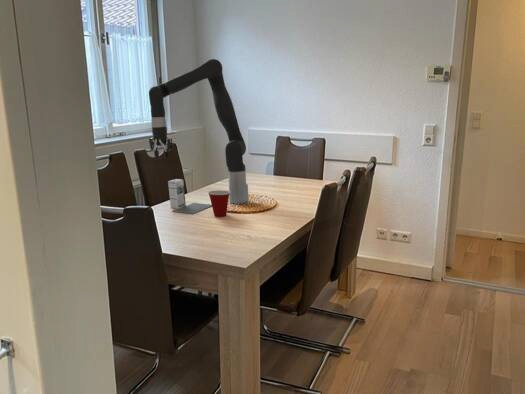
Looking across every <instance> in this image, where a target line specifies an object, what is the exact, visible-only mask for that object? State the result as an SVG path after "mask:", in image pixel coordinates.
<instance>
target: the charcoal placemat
mask: <svg viewBox="0 0 525 394" xmlns="http://www.w3.org/2000/svg"><path fill="white" fill-rule="evenodd" d="M209 208H212V204H210V203H209V204H208V203H201V202H200V203H198V202H193V203H189V204H186V206H184V207H181V208H179V209H177V208H175V209H173V210H172V213H179V214H180V213H181V214H188V215H194V214H197V213H199V212H202V211H204V210H207V209H209Z"/></svg>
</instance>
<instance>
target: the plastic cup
mask: <svg viewBox="0 0 525 394" xmlns="http://www.w3.org/2000/svg"><path fill="white" fill-rule="evenodd" d="M230 193H231V192H229V190H209V191H207V194H208V195H209V199H210V203H211V204H210V205H212V207H211V209H212V211H213V215H214V217H215V218H223V217H226V216H227V214H228V213H227V212H228V205H229V204H228V203H229V199H230Z"/></svg>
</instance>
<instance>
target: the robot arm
mask: <svg viewBox="0 0 525 394" xmlns="http://www.w3.org/2000/svg"><path fill="white" fill-rule="evenodd" d="M204 80H208V83H209V85H210V89H211V92H212V98H213V104H214V108H215V112H216V115H217V118H218V120H219V122H220V124H221V126H222V127H223V128H224V129H225V132H226V135H227V137H228V138H227V139H228V142H227V143H226V145H225V149H224V153H225V163H226V167H227V175H228V177H227V178H228V191H229V192H231V193H230V195H229V203H230V204H232V203H234V205H241V204H242V205H243V203H244V204H245V203H248V202H249V184H248V183H247V174H246V164H245V163H244V161H243V160H244V157H243V156H244V155H245V154H246V151H247V145H246V142H245V140H244V137H243V136H242V132H241V129H240V126H239V123H238V119H237V115H236V111H235V108H234V104H233V102H232V98H231V96H230V94H229V91H228V90H227V87H226V84H225V79H224V74H223V65H222V63H221V61H220V60H218V59H215V58H212V59H208V60H207V61H205V63H203V64H202V65H200V66H198V67H196V68H195V69H191V70H190V71H188V72H185V73H183V74H181V75H178V76H176V77H173V78H170V79H169V80H167V81H165V82H163V83H159V84H158V85H154V86H152V87H150V89H149V91H148V98H149V99H148V100H149V104H150V115H151V120H150V122H151V133H152V136H153V137H149V139H148V142H149V148H150V150H151V151H153V154H154V158H155V159H159V158H160V155H159V154H160V153H159V148H160V147H162V149H163V150H164V158H165V159H167V160H168V159H170V151H172V150H173V138H168V136H167V135H168V125H167V117H166V109H165V105H164V98H166V97H168V96H170V95H174V94H176V93H178V92H181V91H183V90H185V89H187V88H189V87H191V86H192V85H194V84H197V83H199V82H200V81H204ZM240 203H241V204H240Z"/></svg>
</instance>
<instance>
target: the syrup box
mask: <svg viewBox="0 0 525 394" xmlns="http://www.w3.org/2000/svg"><path fill="white" fill-rule="evenodd" d="M184 183H185V182H184V179H182V178H175V179H171V180H168V181H167V185H168V193H169V194H168V195H169V203H170V205H169V206H170V208H172V209H179V208H182V207H184V206H187V204H186V194H185V184H184Z"/></svg>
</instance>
